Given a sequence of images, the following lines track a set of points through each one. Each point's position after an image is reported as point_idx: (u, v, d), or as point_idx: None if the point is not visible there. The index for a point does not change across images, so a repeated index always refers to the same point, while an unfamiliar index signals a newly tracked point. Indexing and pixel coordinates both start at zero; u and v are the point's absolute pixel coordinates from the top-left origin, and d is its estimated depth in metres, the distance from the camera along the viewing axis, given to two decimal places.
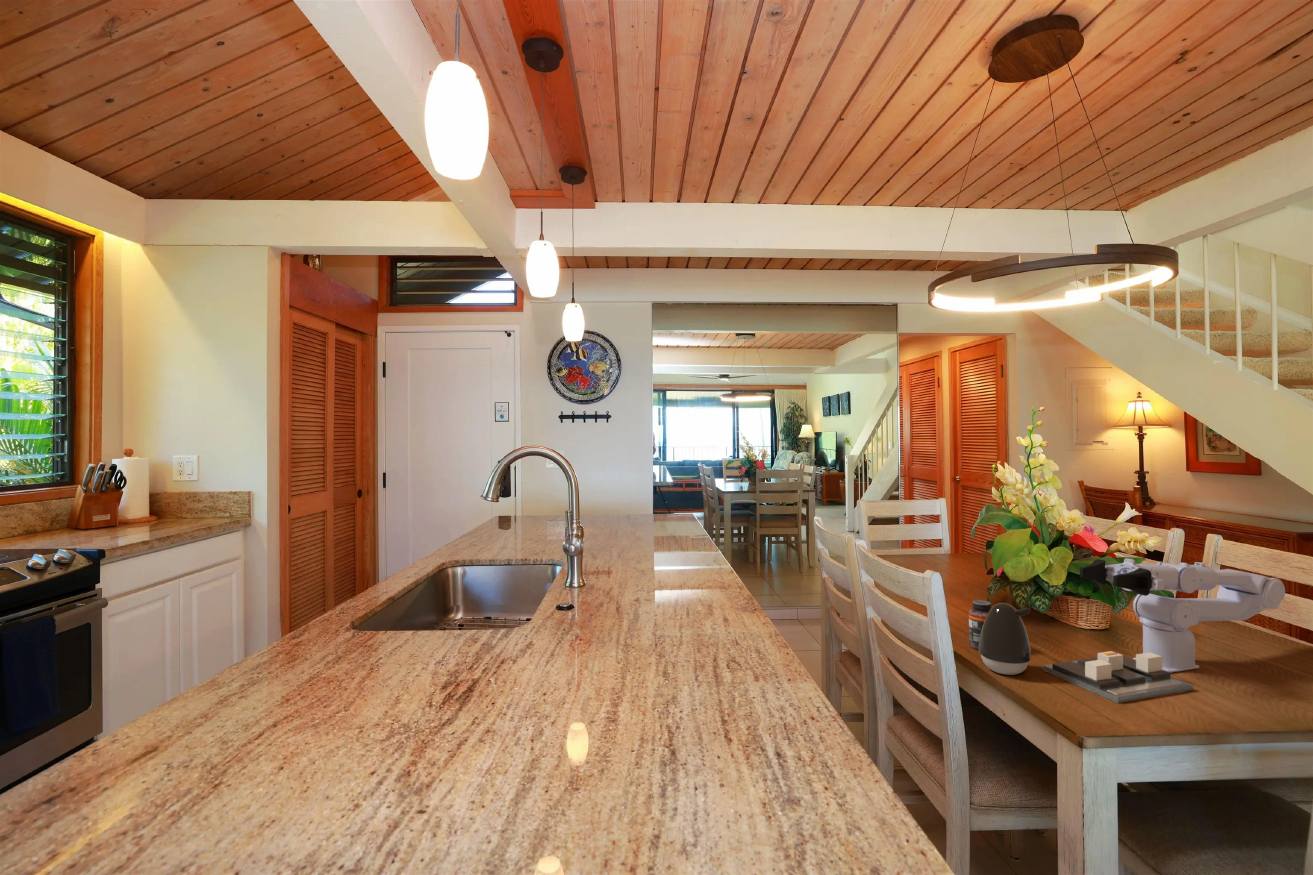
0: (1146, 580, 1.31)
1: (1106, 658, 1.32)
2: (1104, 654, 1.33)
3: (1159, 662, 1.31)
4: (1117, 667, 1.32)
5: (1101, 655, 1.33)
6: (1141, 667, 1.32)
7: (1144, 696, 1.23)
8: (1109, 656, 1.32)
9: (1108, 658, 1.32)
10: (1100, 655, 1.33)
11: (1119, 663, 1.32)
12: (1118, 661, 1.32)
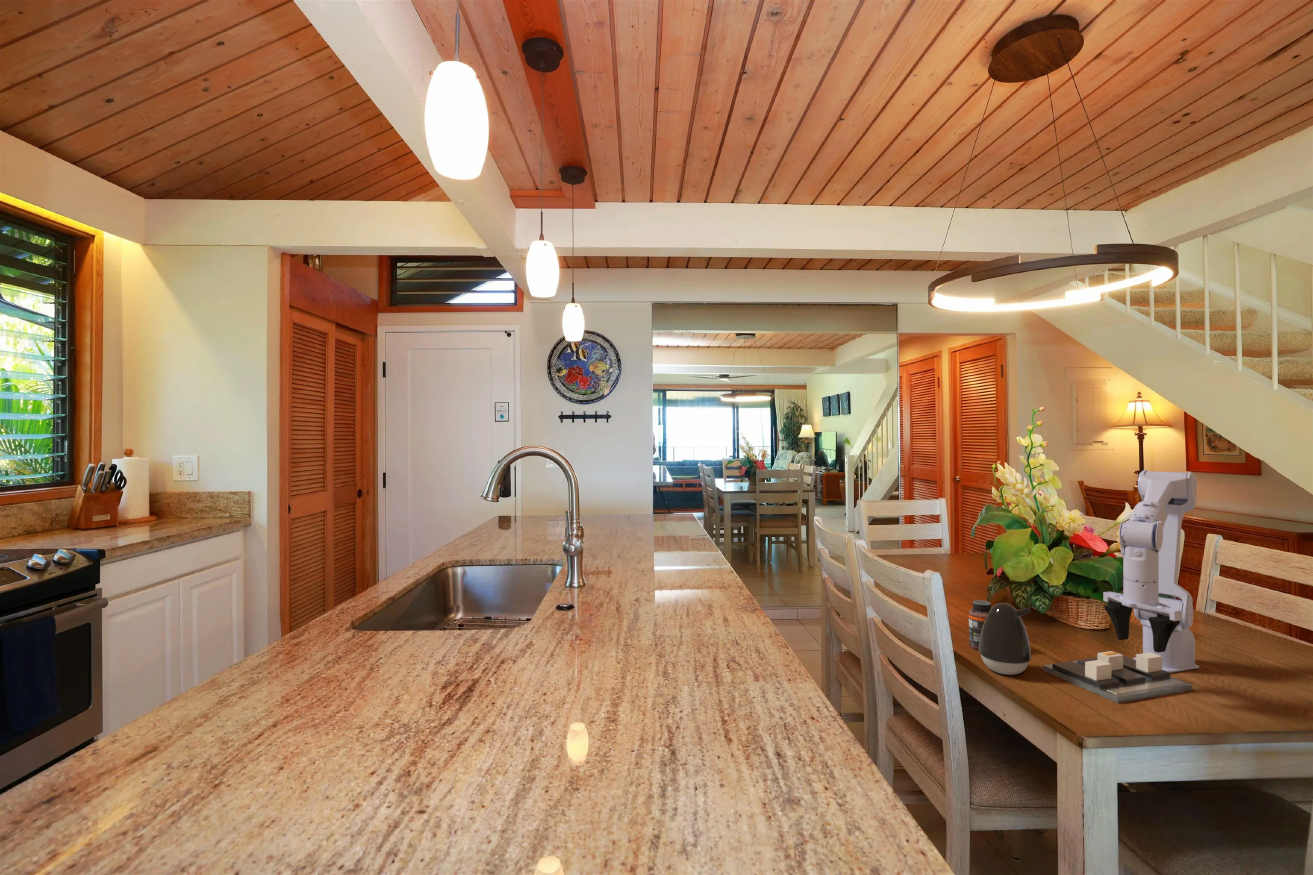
0: None
1: (1106, 658, 1.32)
2: (1104, 654, 1.33)
3: (1159, 662, 1.31)
4: (1117, 667, 1.32)
5: (1101, 655, 1.33)
6: (1141, 667, 1.32)
7: (1144, 696, 1.23)
8: (1109, 656, 1.32)
9: (1108, 658, 1.32)
10: (1100, 655, 1.33)
11: (1119, 663, 1.32)
12: (1118, 661, 1.32)
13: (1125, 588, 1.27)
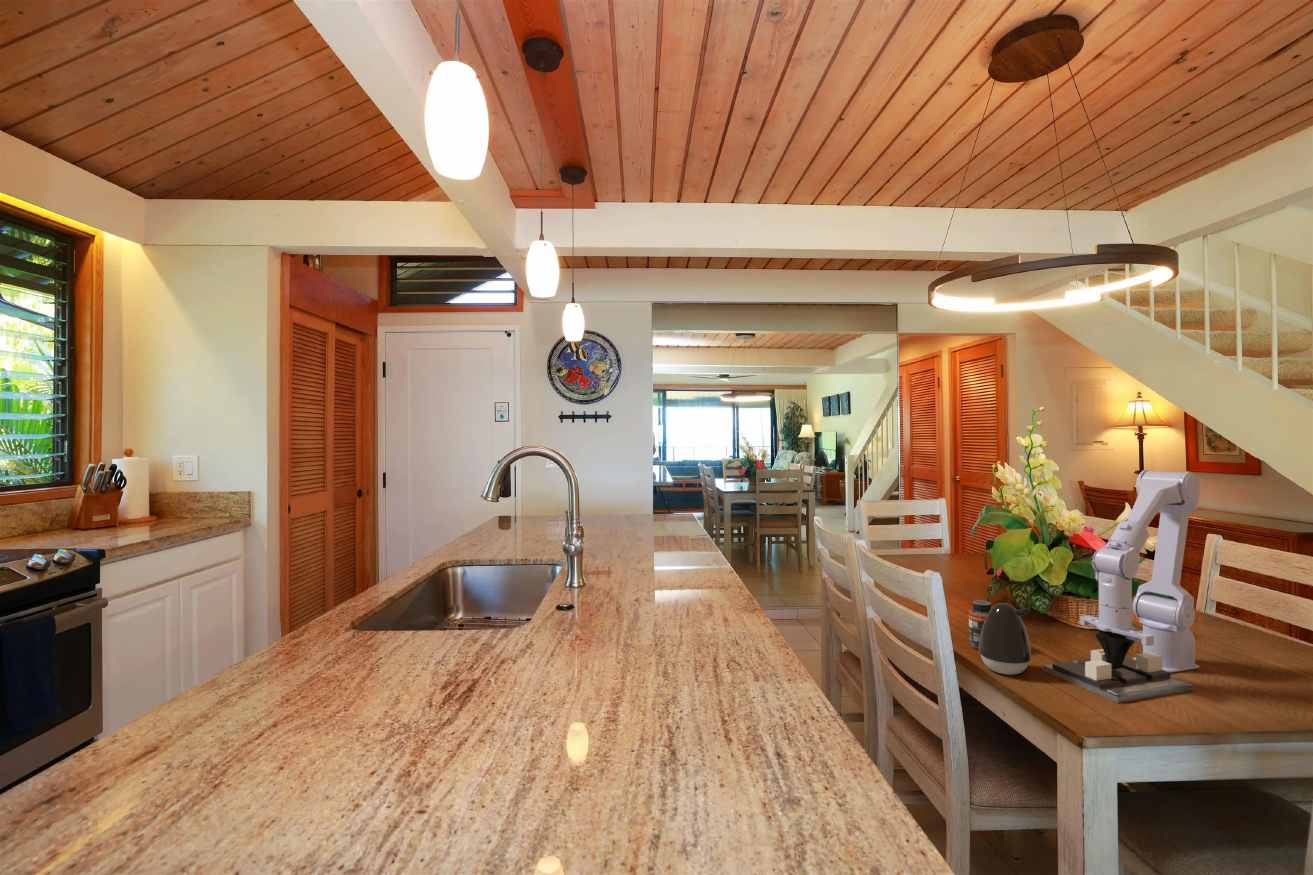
0: None
1: (1099, 655, 1.33)
2: (1097, 651, 1.34)
3: (1159, 662, 1.31)
4: None
5: (1094, 652, 1.35)
6: (1141, 667, 1.32)
7: (1144, 696, 1.23)
8: (1102, 653, 1.33)
9: (1101, 655, 1.33)
10: (1093, 652, 1.35)
11: None
12: None
13: (1100, 613, 1.32)
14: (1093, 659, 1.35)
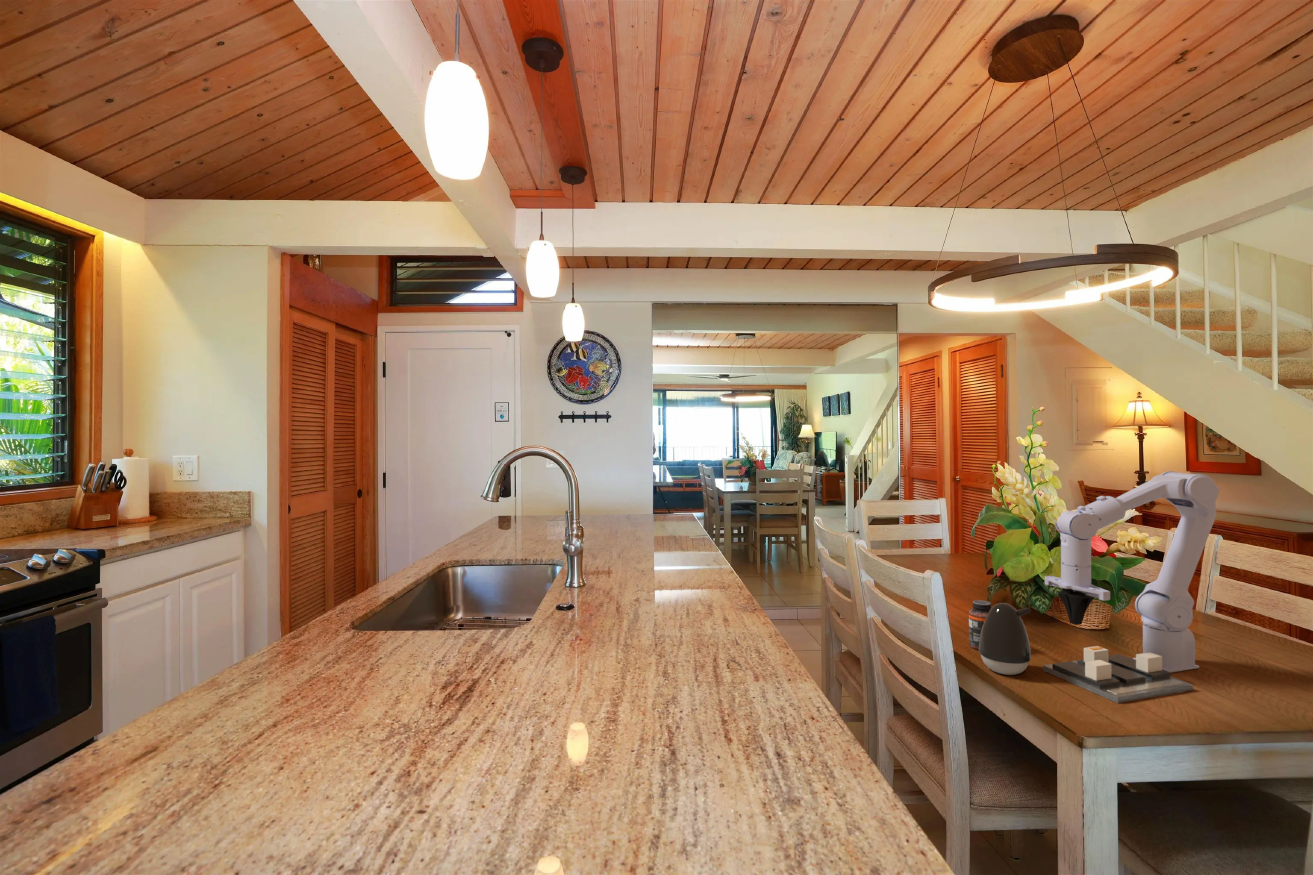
0: None
1: (1092, 652, 1.35)
2: (1090, 649, 1.36)
3: (1159, 662, 1.31)
4: None
5: (1087, 650, 1.36)
6: (1141, 667, 1.32)
7: (1144, 696, 1.23)
8: (1095, 651, 1.35)
9: (1094, 653, 1.35)
10: (1086, 650, 1.36)
11: (1104, 658, 1.35)
12: (1103, 656, 1.35)
13: (1062, 572, 1.41)
14: (1086, 656, 1.36)
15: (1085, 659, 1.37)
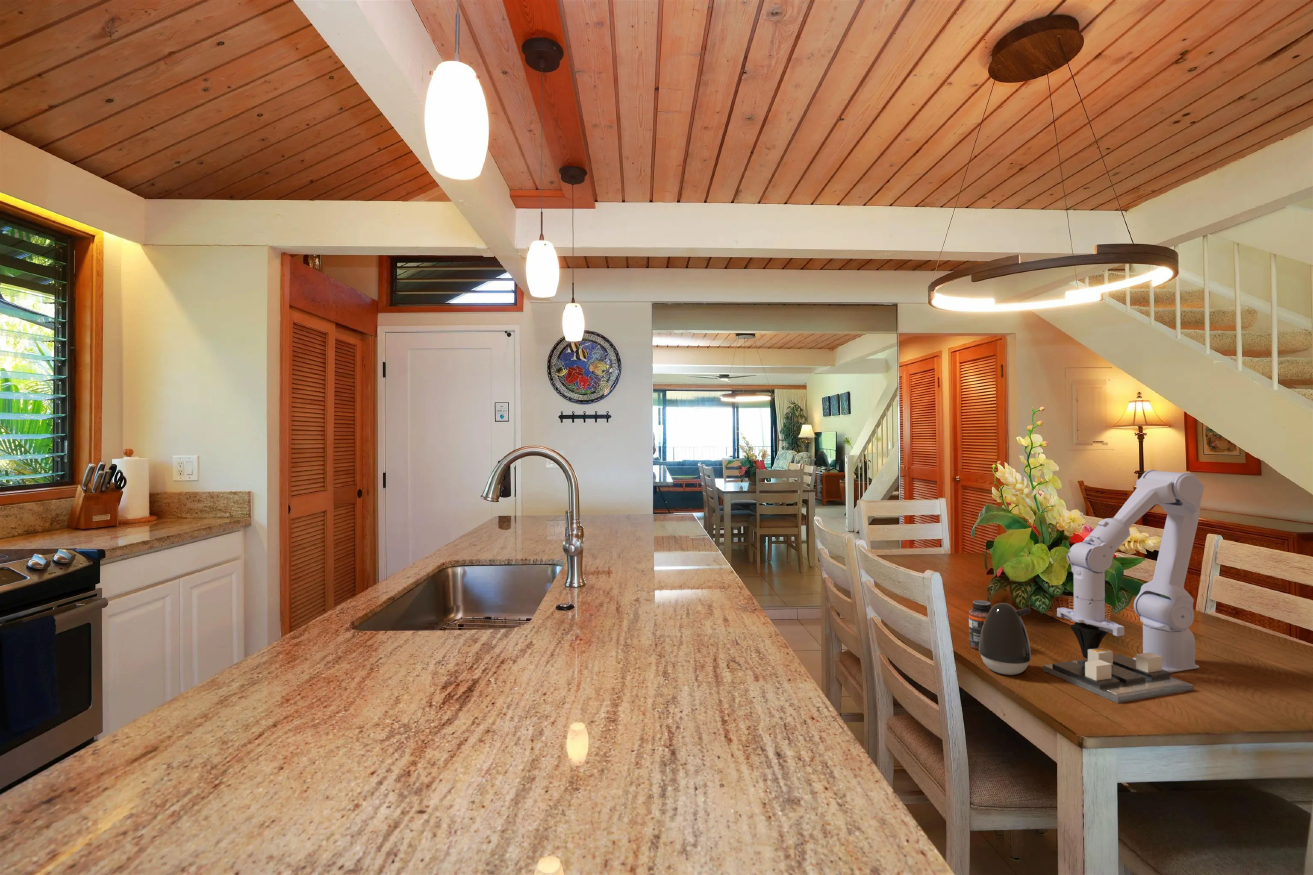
0: None
1: (1096, 654, 1.34)
2: (1094, 650, 1.35)
3: (1159, 662, 1.31)
4: None
5: (1091, 651, 1.35)
6: (1141, 667, 1.32)
7: (1144, 696, 1.23)
8: (1099, 652, 1.34)
9: (1098, 654, 1.34)
10: (1090, 651, 1.35)
11: (1109, 659, 1.34)
12: (1108, 657, 1.34)
13: (1075, 605, 1.38)
14: (1090, 658, 1.35)
15: None
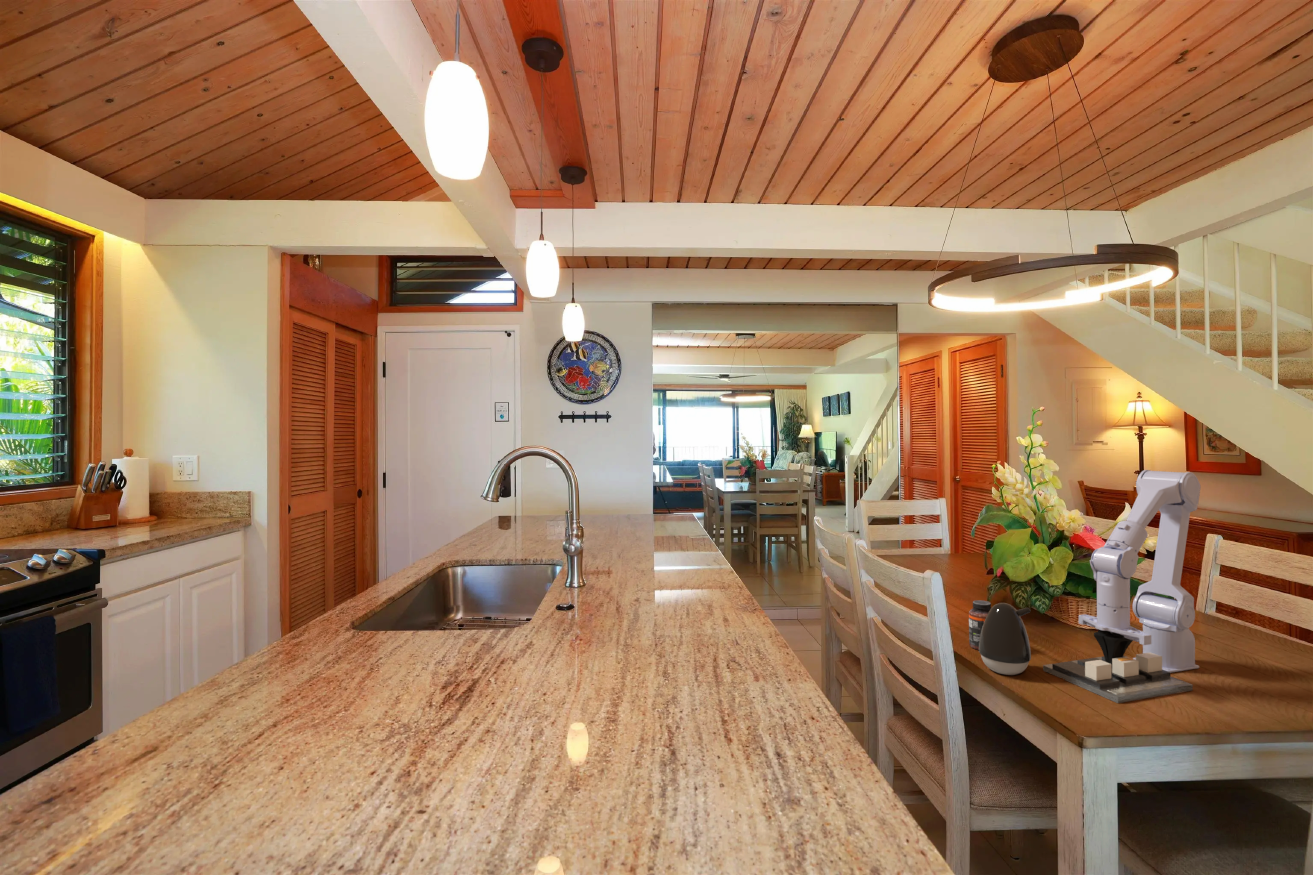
0: None
1: (1122, 663, 1.29)
2: (1119, 660, 1.30)
3: (1159, 662, 1.31)
4: (1132, 673, 1.29)
5: (1116, 661, 1.30)
6: (1141, 667, 1.32)
7: (1144, 696, 1.23)
8: (1124, 662, 1.29)
9: (1123, 664, 1.28)
10: (1115, 661, 1.30)
11: (1134, 669, 1.29)
12: (1134, 667, 1.29)
13: (1098, 612, 1.33)
14: (1115, 667, 1.30)
15: (1114, 670, 1.30)
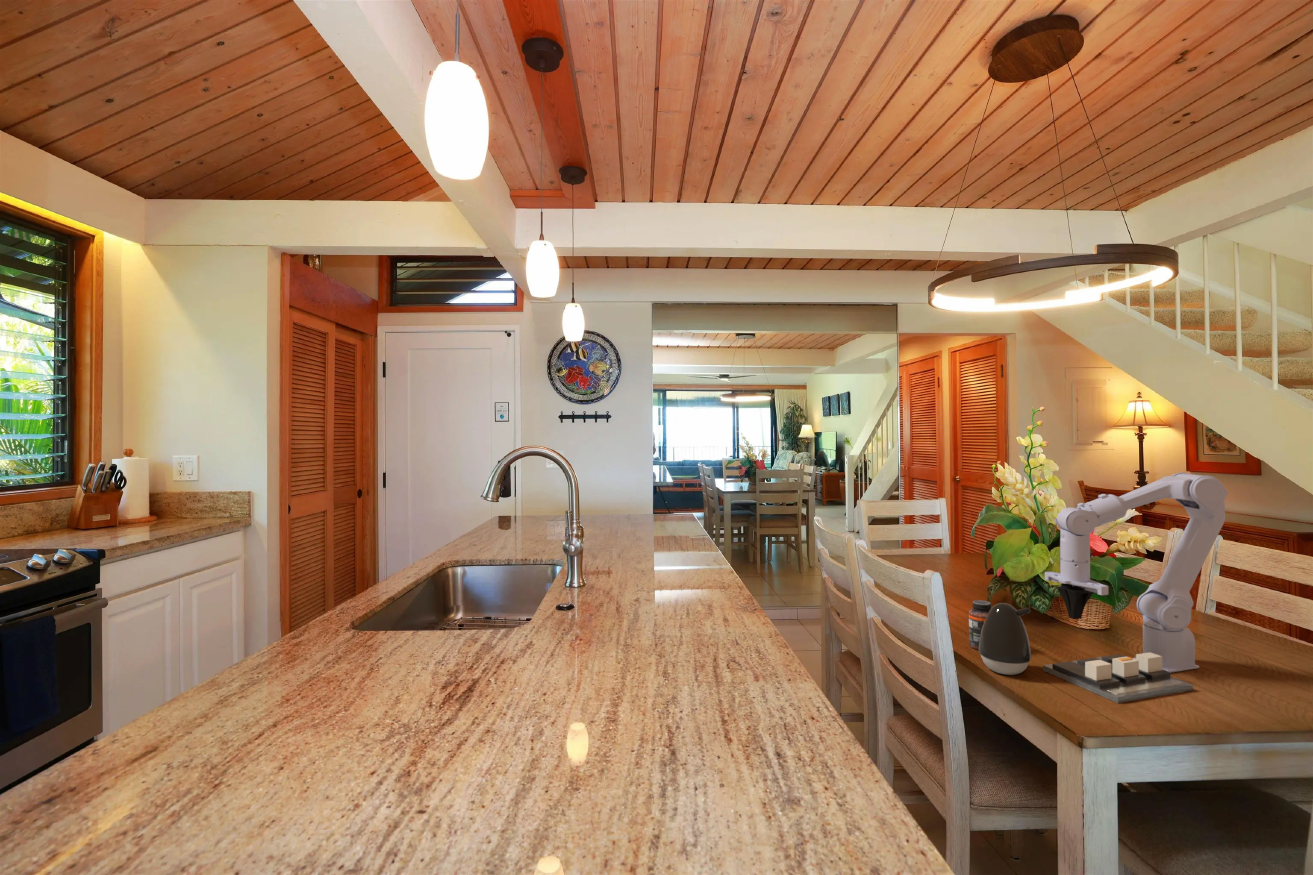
0: None
1: (1122, 663, 1.29)
2: (1119, 660, 1.30)
3: (1159, 662, 1.31)
4: (1133, 673, 1.29)
5: (1116, 661, 1.30)
6: (1141, 667, 1.32)
7: (1144, 696, 1.23)
8: (1124, 662, 1.29)
9: (1123, 664, 1.28)
10: (1115, 661, 1.30)
11: (1134, 669, 1.29)
12: (1134, 667, 1.29)
13: (1061, 567, 1.43)
14: (1115, 667, 1.30)
15: (1114, 670, 1.30)
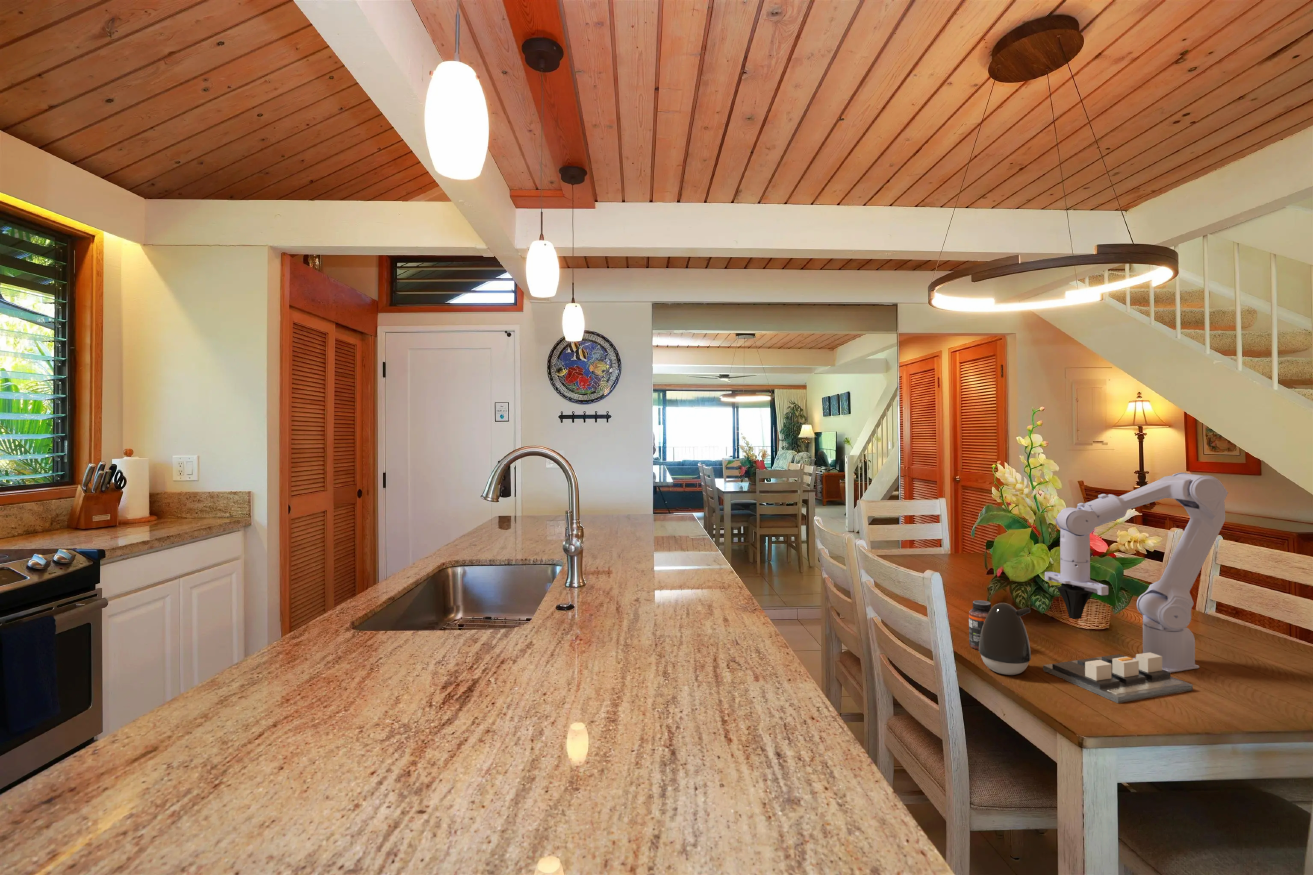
0: None
1: (1122, 663, 1.29)
2: (1119, 660, 1.30)
3: (1159, 662, 1.31)
4: (1133, 673, 1.29)
5: (1116, 661, 1.30)
6: (1141, 667, 1.32)
7: (1144, 696, 1.23)
8: (1124, 662, 1.29)
9: (1123, 664, 1.28)
10: (1115, 661, 1.30)
11: (1134, 669, 1.29)
12: (1134, 667, 1.29)
13: (1061, 567, 1.43)
14: (1115, 667, 1.30)
15: (1114, 670, 1.30)
